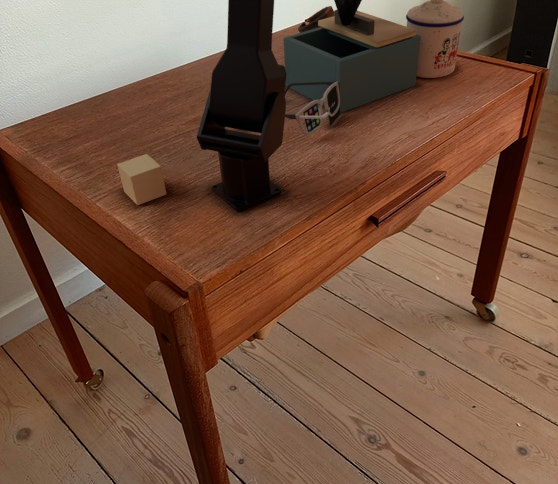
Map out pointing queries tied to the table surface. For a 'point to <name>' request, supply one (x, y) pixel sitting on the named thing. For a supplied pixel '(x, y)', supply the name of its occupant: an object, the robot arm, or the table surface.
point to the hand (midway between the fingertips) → (345, 25)
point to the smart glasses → (312, 114)
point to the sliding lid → (368, 29)
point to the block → (142, 179)
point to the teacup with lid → (436, 36)
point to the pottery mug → (317, 19)
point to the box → (349, 66)
